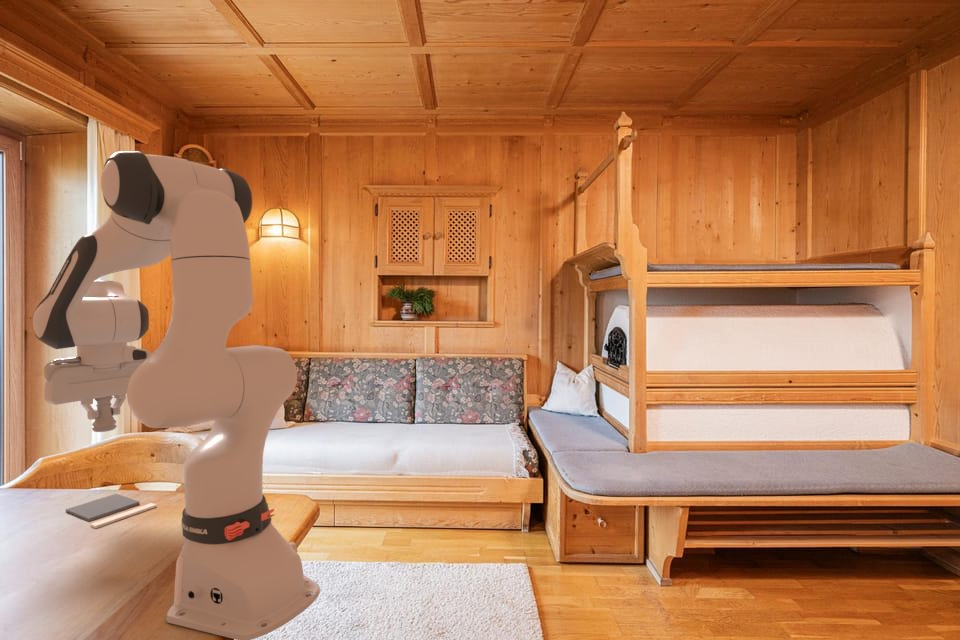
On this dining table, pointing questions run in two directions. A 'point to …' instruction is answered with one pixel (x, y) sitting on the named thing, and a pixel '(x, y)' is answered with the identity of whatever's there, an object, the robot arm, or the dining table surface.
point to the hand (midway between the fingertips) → (104, 416)
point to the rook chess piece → (104, 416)
